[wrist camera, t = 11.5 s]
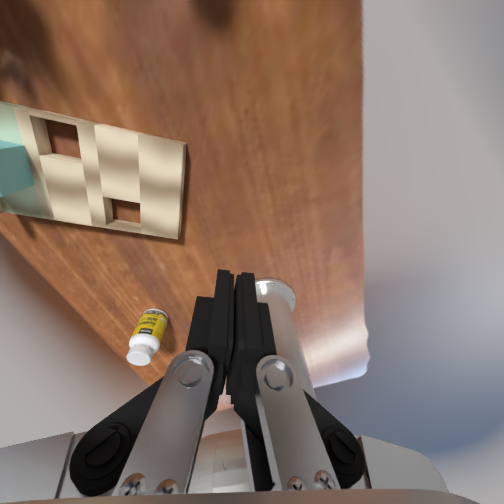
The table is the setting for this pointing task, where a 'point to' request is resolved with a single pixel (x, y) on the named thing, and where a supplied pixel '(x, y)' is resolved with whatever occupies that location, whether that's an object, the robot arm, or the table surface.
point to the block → (13, 168)
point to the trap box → (96, 174)
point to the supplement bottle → (147, 336)
